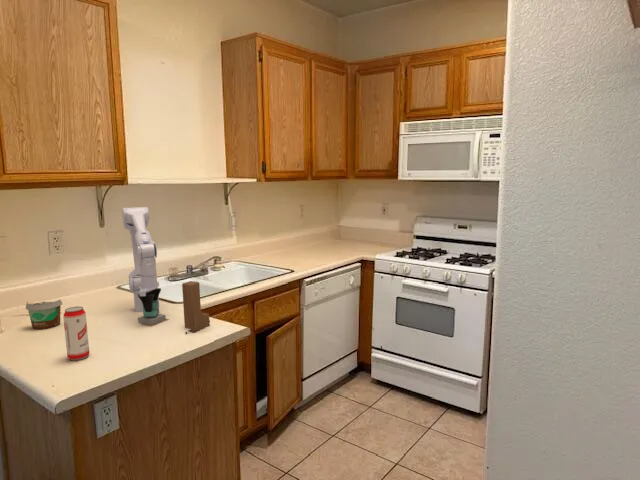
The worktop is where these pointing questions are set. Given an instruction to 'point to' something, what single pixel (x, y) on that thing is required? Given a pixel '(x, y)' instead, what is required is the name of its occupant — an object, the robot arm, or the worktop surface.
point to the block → (154, 310)
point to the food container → (44, 314)
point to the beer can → (76, 333)
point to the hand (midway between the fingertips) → (151, 309)
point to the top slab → (151, 319)
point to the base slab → (154, 324)
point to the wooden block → (193, 307)
